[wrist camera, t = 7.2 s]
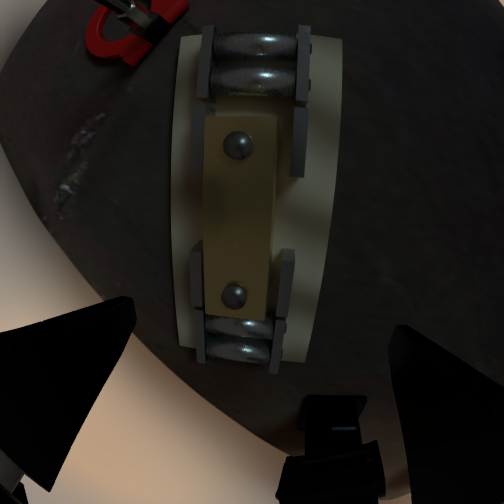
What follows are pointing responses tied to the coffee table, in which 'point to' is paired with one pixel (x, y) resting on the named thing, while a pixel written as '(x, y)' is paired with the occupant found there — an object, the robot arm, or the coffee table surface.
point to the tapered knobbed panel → (239, 213)
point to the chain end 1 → (253, 81)
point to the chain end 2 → (240, 320)
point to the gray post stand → (132, 27)
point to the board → (287, 193)
